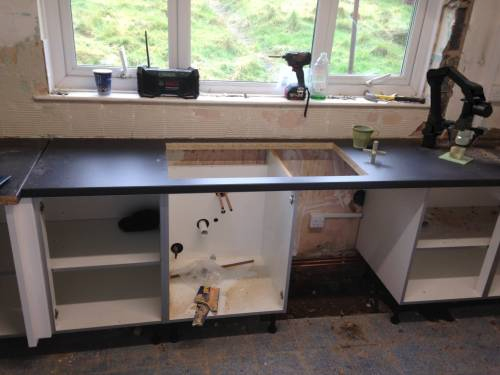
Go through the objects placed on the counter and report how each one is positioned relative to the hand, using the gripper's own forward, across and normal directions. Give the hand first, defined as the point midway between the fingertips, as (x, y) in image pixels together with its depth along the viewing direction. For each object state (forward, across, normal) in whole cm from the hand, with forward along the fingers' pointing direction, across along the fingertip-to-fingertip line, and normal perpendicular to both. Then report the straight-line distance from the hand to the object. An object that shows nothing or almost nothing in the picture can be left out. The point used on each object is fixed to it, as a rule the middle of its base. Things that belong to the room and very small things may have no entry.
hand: (459, 144), depth 202 cm
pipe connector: (+7, -23, -39) cm, 46 cm away
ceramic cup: (+7, -38, -22) cm, 45 cm away
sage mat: (+7, 0, 0) cm, 7 cm away
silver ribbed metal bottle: (+7, -7, +26) cm, 28 cm away
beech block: (+6, 0, 0) cm, 7 cm away
